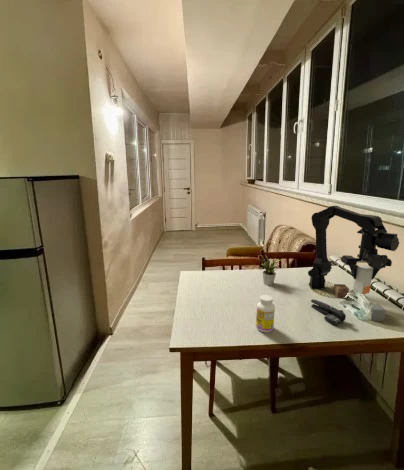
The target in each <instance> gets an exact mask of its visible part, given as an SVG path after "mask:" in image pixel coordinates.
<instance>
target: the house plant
mask: <svg viewBox="0 0 404 470" xmlns="http://www.w3.org/2000/svg"><path fill="white" fill-rule="evenodd" d="M261 258H262V259H259V258H256V259H257V260H259V261H261V264H260V265H261V266H263V267H261V266H260V268H259V269H258V270H263V271H262V279H263V280H262V281H263V284H264V285H265V286H273V285H274V282H275V280H276V279H275V278H276V275H277V273H276V272H275V271H276V270H277V269H278V270H279V267H277V266H276V264H278V263H279V262H280V261H282V260H283V258H282V259H279V260H277V261H276V258H277V257H275V258H274V260H273V261H272V259H270V258H269V257H268V255H265V258H266V260H265V258H264V256H263V255H261ZM271 261H272V263H271Z"/></svg>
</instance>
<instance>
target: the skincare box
mask: <svg viewBox="0 0 404 470" xmlns="http://www.w3.org/2000/svg"><path fill="white" fill-rule="evenodd" d="M372 274H373V268H372V267H370V266H369V265H360V266H359V267H358V268H357V274H356V279H354V280H353V286H352V292H353V291H355V292H359V293H361V294H363V295H362V296H364V295H367V294H370V291H371V285H372Z"/></svg>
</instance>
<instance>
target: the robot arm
mask: <svg viewBox="0 0 404 470" xmlns="http://www.w3.org/2000/svg"><path fill="white" fill-rule="evenodd" d="M335 216H336V217H339V218H341V219H344V220H346V221H350V222H352V223H355V224H356V225H357V226H358V227H359V228H360V229H359V230H357V233H356V234H361V240H360V245H358V246H357V248H358V249H359V253H358V254H357V257H354V256H353V255H345V254H344V255H342V256H341V257H340V262H341V263H343V264H344V265H346V266H348V267H349V268H350V269H349V270H350V272H351V276H352V277H353V279H354V280H355V279H356V274H357V268H358V267H360V266H359V265H358V263H360V264H363V263H367V266H369V267H372V268H373V274H372V280H374V279H375V277H376V275H377V274H378V273H379V271H380V270H381V269H385V268H386V267H392V265H393V261H392V259H391V258H389V257H388V255H387V254H379V253H378V249H377V248H379V249H382V250H387V251H391V252H396V251H397V250H398V247H399V246H400V241H399V240H400V239H399V237H398V233H391V232H388V231H387V228H386V227H385V225H384V223H383V220H382V218H381V216H378V215H375V214H374V215H372V214H363V213H359V212H356V211H353V210H350V209H347V208H344V207H341V206H339V205H330V206H328V207H327V208H325V209H322V210H320V211H317V212H314V213H313V214H312V215H311V223H312V227H313V228H314V230H315V259H314V261H313V264H312V268H311V269H309V270H307V274H308V277H310V278H309V283H308V286H309V287H310V288H311V289H313V290H315V289H316V290H325V289H326V288H325V286H326V278H325V277H326V276H328V274H329V273H330V272H331V270H332V269H333V267H332V261H331V260H329V259H328V257H327V256H328V255H327V252H328V251H327V229H328V227H329V225H330V220H331V219H333V218H335ZM372 280H371V281H372Z"/></svg>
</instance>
